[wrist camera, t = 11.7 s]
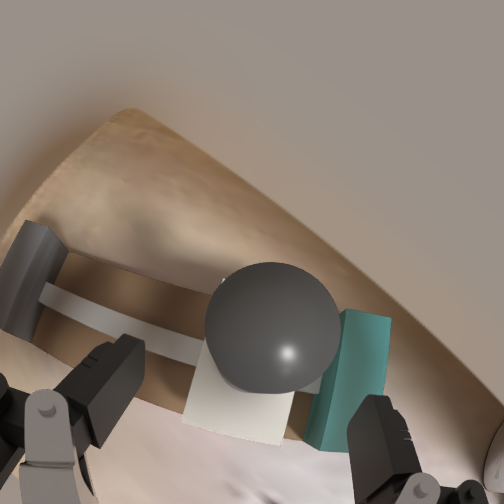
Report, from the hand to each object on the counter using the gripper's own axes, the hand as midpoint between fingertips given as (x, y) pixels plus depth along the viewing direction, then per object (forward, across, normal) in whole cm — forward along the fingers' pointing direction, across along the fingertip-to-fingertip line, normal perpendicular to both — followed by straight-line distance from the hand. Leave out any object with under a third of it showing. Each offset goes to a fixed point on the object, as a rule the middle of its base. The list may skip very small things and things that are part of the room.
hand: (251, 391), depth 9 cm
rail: (+8, +6, +6) cm, 11 cm away
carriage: (+6, 0, +3) cm, 7 cm away
